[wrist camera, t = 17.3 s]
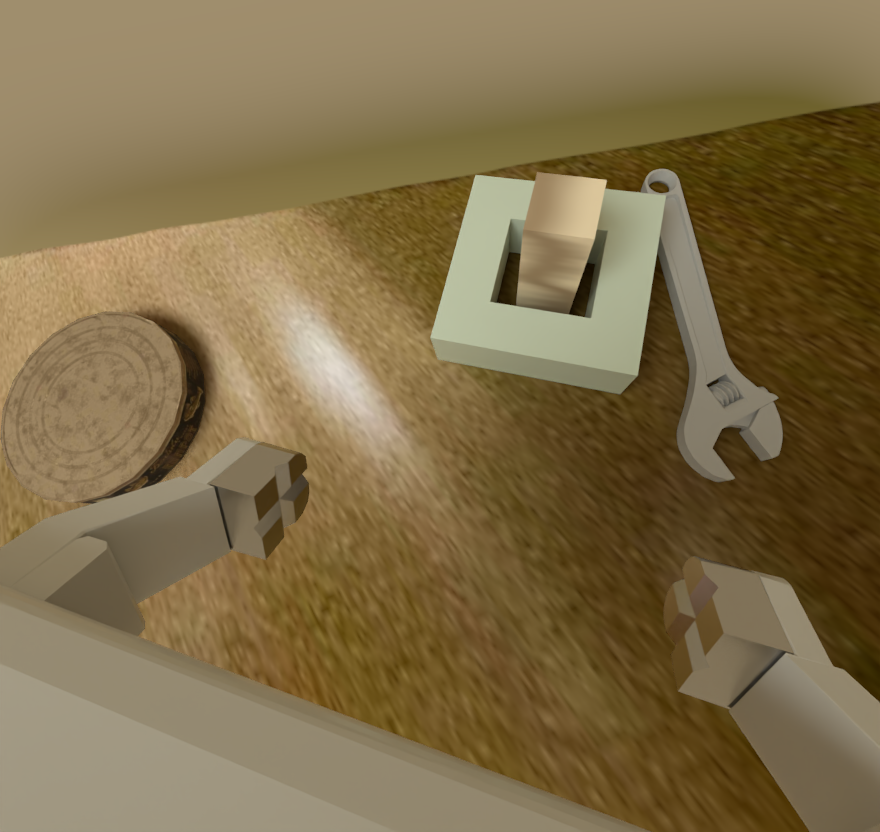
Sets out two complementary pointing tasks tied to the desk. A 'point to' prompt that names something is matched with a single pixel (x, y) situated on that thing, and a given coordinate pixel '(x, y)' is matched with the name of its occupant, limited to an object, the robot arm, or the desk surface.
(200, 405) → the wood slice
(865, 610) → the desk surface
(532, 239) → the wooden block
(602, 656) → the desk surface
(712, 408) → the adjustable wrench
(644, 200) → the pale green square frame
